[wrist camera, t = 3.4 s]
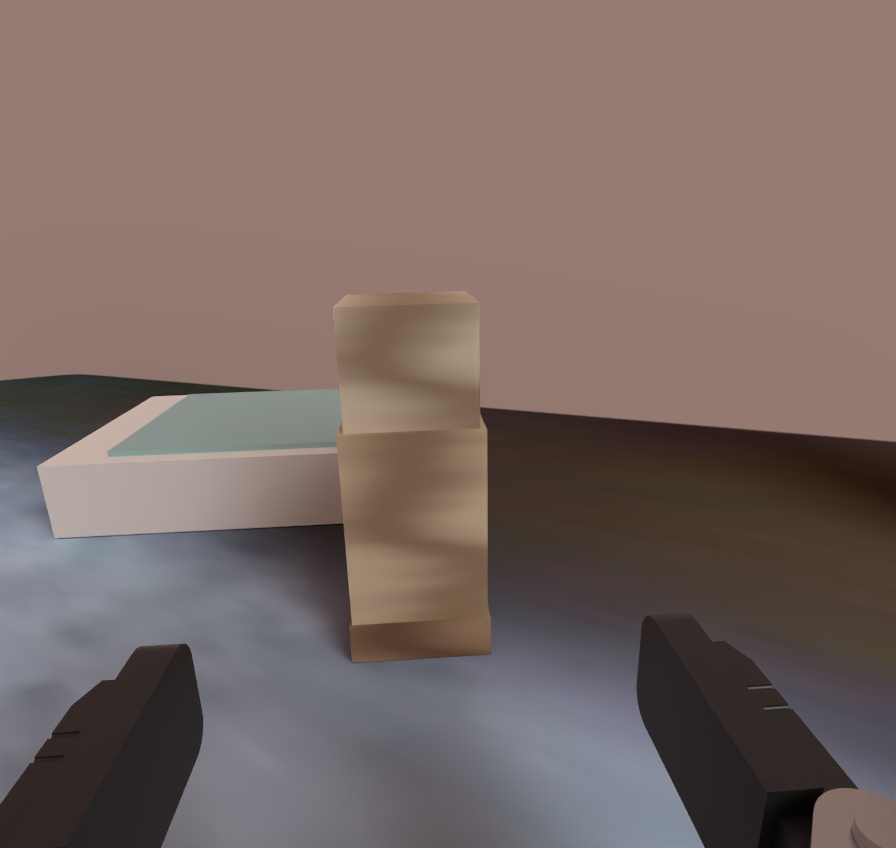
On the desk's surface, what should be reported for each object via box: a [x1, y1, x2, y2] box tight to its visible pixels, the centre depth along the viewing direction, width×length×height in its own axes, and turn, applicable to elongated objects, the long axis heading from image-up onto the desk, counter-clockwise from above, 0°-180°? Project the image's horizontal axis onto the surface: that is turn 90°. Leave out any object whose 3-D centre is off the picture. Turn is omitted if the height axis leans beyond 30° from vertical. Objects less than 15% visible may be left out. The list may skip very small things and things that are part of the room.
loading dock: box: [37, 389, 343, 538], centre depth 37 cm, size 18×14×4 cm
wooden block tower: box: [333, 291, 491, 663], centre depth 22 cm, size 5×5×12 cm
